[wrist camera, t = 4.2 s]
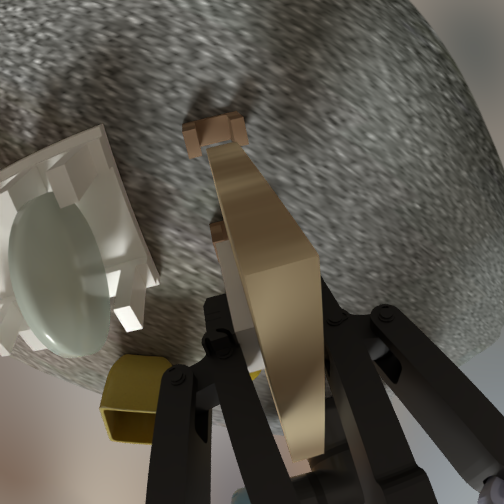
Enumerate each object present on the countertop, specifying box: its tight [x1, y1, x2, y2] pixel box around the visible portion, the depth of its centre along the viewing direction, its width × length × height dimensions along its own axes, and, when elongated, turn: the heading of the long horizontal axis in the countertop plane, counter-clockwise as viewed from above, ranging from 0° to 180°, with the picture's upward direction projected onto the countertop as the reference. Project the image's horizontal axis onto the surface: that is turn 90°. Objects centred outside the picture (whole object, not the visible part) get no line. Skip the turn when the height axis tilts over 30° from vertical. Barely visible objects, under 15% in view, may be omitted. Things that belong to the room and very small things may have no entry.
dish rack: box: [0, 124, 160, 356], centre depth 22 cm, size 15×18×7 cm
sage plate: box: [8, 191, 110, 358], centre depth 19 cm, size 11×1×11 cm, turn 10°
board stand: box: [182, 111, 249, 263], centre depth 25 cm, size 11×4×3 cm, turn 10°
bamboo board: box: [206, 141, 325, 463], centre depth 14 cm, size 12×2×11 cm, turn 10°
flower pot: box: [99, 354, 172, 445], centre depth 33 cm, size 9×9×9 cm
